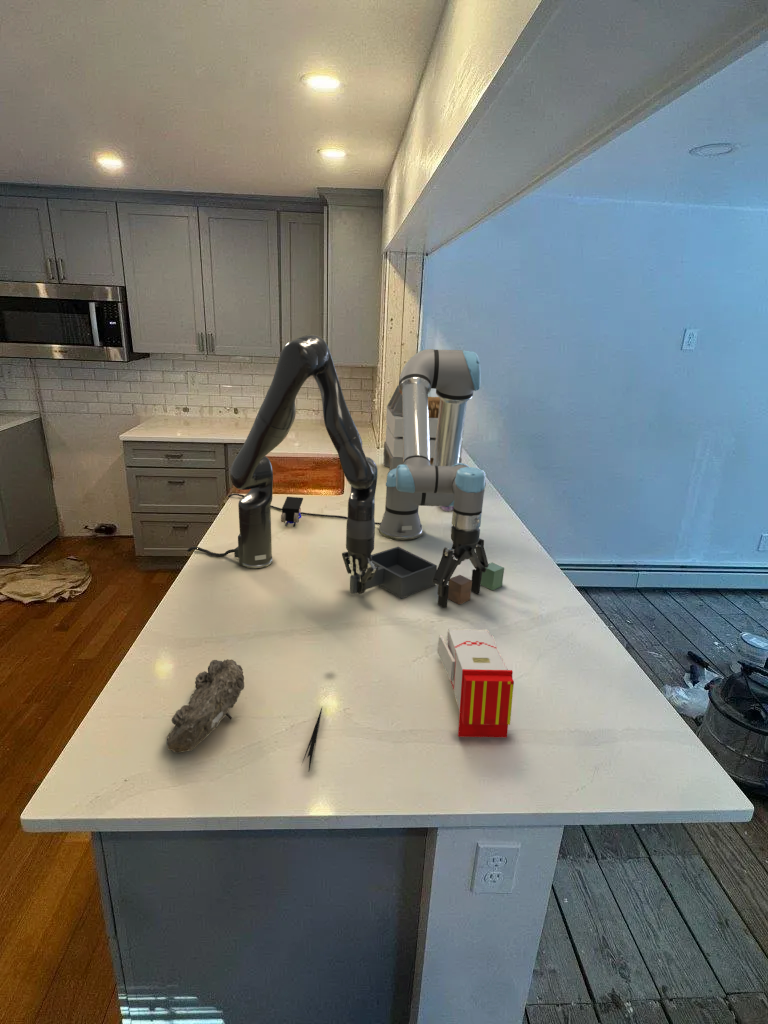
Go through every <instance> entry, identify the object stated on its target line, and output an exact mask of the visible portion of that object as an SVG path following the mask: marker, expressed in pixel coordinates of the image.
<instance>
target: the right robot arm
mask: <svg viewBox="0 0 768 1024" xmlns="http://www.w3.org/2000/svg"><path fill="white" fill-rule="evenodd" d="M481 373H482V372H481V362H480V357H479V355H478V354H477V353H476V352H475V351H471V350H464V349H433V348H426V349H423V350H420V351H418V352H416V353H414V354H413V355H412V356H411V357H410V358H409V359H408V360H407V362H406V363H405V364H404V366H403V368H402V370H401V372H400V375H399V377H398V378H399V379H398V385H399V392H400V393H401V394H402V403H403V464H402V465H398V466H397V468H395V469H392V470H391V471H390V470H388V473H387V475H386V482H385V487H386V488H385V489H386V490H385V504H384V505H385V507H384V508H385V509H384V513H383V515H382V519H381V522H375V526H376V525H377V526H378V533H379V534H380V535H381V536H382V537H385V538H387V539H389V540H395V541H410V540H415V539H418V538H420V537H421V536H422V535H423V525H422V524H421V518H420V515H419V507H440V506H445V507H449V506H454V507H453V510H452V517H451V528H450V540H451V542H452V545H451V547H449V548H448V547H444V548H443V550H442V554H441V555H442V556H441V558H440V561H439V563H438V565H437V571H436V573H435V576H434V578H433V583H435V585H437V595H438V596H437V598H438V599H437V605H439V606H440V607H442V608H444V609H447V608H448V600H449V599H448V590H449V585H448V584H449V580H450V578H452V576H453V574H454V572H455V571H456V570H457V567H458V566H459V565H461V563H462V562H464V561H465V560H469V562H470V563H471V564H472V566H473V569H472V570H471V571H472V572H471V580H472V587H471V593H472V592H473V593H475V594H477V595H479V594H480V592H481V585H480V584H481V579H482V572H484V573H485V572H486V569H485V567H486V568H487V567H488V564H489V561H488V558H487V552H486V550H485V540H484V539H482V538H481V537H480V535H481V524H482V513H483V506H484V499H485V498H484V497H485V488H486V472H485V471H484V470H483V469H480V468H478V467H472V466H469V465H468V464H467V463H462V462H461V463H459V458H460V450H461V443H462V441H463V438H462V435H463V436H464V432H463V428H464V429H465V421H466V420H465V419H466V412H467V405H468V401H470V400H471V399H472V398H473V396H474V392H477V391H479V390H480V388H481V381H482V379H481V378H482V376H481V375H482V374H481ZM431 389H435V395H436V397H439V398H440V404H439V413H438V423H437V432H436V441H435V450H434V460H433V464H431V465H430V442H429V414H428V397H429V394H430V393H431ZM462 444H463V443H462ZM232 496H238V497H241V498H243V497H244V496H245V495H244V494H240V493H231V494H229V495H228V496H227V498H231V497H232ZM271 508H272V509H275V510H278V511H282V507H278V506H274V505H271ZM300 515H303V516H304V515H305V516H313V517H324V518H337V519H345V520H347V518H348V516H346V515H345V516H344V515H338V514H337V515H335V514H321V513H310V512H302V511H301V514H300Z"/></svg>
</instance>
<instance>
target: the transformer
mask: <svg viewBox="0 0 768 1024" xmlns="http://www.w3.org/2000/svg"><path fill="white" fill-rule="evenodd" d="M439 404H440V398H439V397H438V396H428V414H429V442H430V465H431V464H433V460H434V450H435V441H436V432H437V423H438V413H439ZM385 414H386V415H385V423H386V428H385V438H384V442H383V466H384V467H388V468H389V471H391V470H392V469H395V468H397V466H398V465H402V464H403V403H402V394H401V393H400V392H399V384H398V385H397V386H396V388H395V390H394V392H393V394H392V395H391V398H390V400H389V402H388V404H387V405H386V413H385ZM464 429H465V427H464V428H463V433H464V431H465V430H464ZM463 438H464V434H463V435H462V439H463ZM463 442H464V441H463V440H462V443H461V450H460V458H459V463H462V461H463V460H462V453H463Z"/></svg>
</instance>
